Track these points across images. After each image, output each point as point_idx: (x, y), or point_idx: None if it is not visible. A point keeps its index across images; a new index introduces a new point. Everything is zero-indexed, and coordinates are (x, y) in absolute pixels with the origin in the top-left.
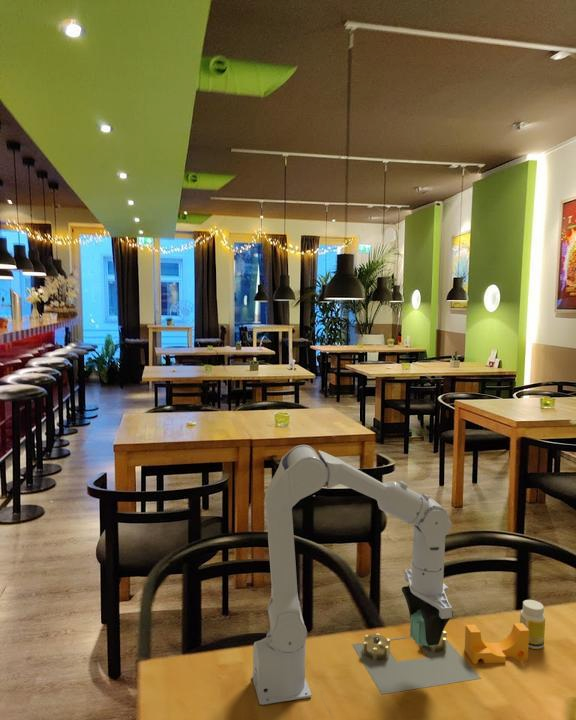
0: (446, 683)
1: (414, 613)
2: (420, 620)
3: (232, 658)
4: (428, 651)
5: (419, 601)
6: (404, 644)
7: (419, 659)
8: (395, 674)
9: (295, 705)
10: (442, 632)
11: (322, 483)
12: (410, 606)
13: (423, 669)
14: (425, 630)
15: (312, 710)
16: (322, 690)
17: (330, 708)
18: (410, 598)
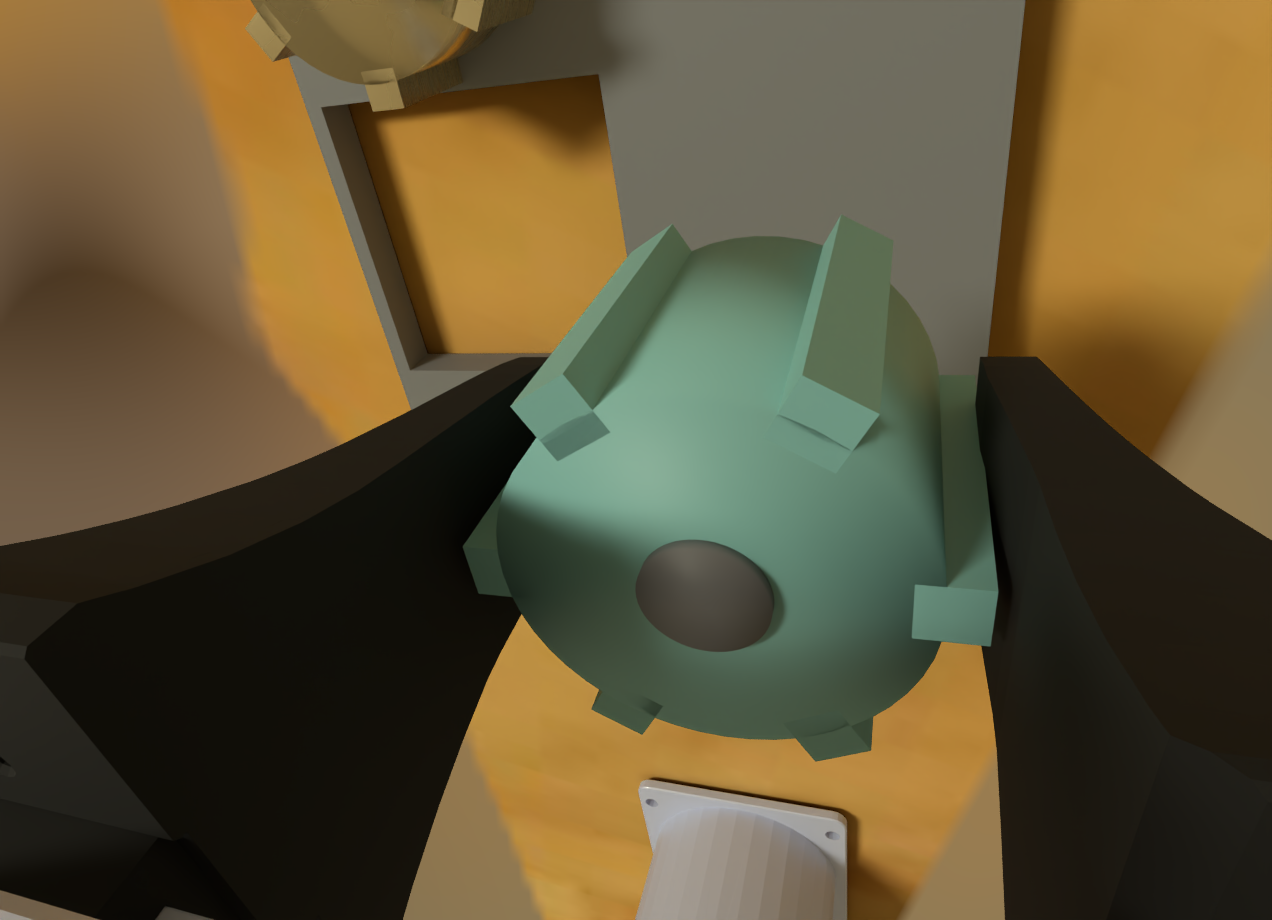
0: (1012, 59)
1: (574, 668)
2: (776, 693)
3: (560, 900)
4: (514, 35)
5: (375, 664)
6: (390, 183)
7: (627, 179)
8: None
9: (875, 862)
10: (1130, 443)
11: None
12: (463, 723)
13: (764, 203)
14: (990, 683)
15: (928, 832)
16: (802, 759)
17: (940, 780)
18: (398, 861)
